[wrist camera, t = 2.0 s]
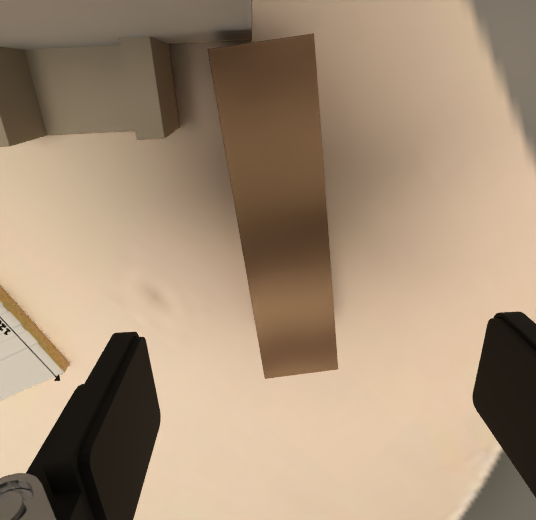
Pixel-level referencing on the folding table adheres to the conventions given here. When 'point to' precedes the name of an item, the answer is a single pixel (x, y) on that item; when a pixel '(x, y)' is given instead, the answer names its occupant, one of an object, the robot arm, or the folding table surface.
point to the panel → (101, 62)
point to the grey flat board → (24, 351)
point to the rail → (279, 197)
